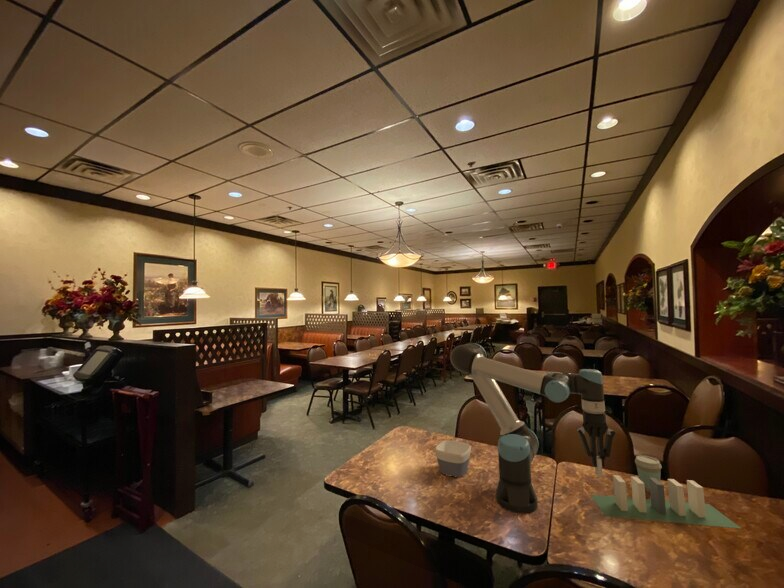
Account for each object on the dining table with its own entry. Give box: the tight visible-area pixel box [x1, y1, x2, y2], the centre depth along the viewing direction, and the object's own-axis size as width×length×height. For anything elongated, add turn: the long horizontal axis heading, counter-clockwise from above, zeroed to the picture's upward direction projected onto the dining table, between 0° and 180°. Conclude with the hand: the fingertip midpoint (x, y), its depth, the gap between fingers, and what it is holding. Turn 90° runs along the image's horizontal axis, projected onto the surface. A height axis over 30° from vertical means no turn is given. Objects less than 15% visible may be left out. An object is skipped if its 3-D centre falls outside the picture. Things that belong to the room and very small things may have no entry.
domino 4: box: [686, 479, 706, 518], centre depth 113 cm, size 2×5×10 cm, turn 168°
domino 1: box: [612, 474, 628, 511], centre depth 118 cm, size 2×5×10 cm, turn 168°
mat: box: [589, 494, 742, 529], centre depth 115 cm, size 40×14×1 cm, turn 78°
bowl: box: [434, 439, 472, 478], centre depth 149 cm, size 15×15×11 cm
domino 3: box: [667, 478, 686, 516], centre depth 114 cm, size 2×5×10 cm, turn 168°
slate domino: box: [649, 478, 666, 514], centre depth 116 cm, size 2×5×10 cm, turn 168°
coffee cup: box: [634, 455, 663, 493], centre depth 129 cm, size 8×8×12 cm
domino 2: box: [630, 476, 647, 513], centre depth 117 cm, size 2×5×10 cm, turn 168°
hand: (599, 475), depth 120 cm, fingers closed
